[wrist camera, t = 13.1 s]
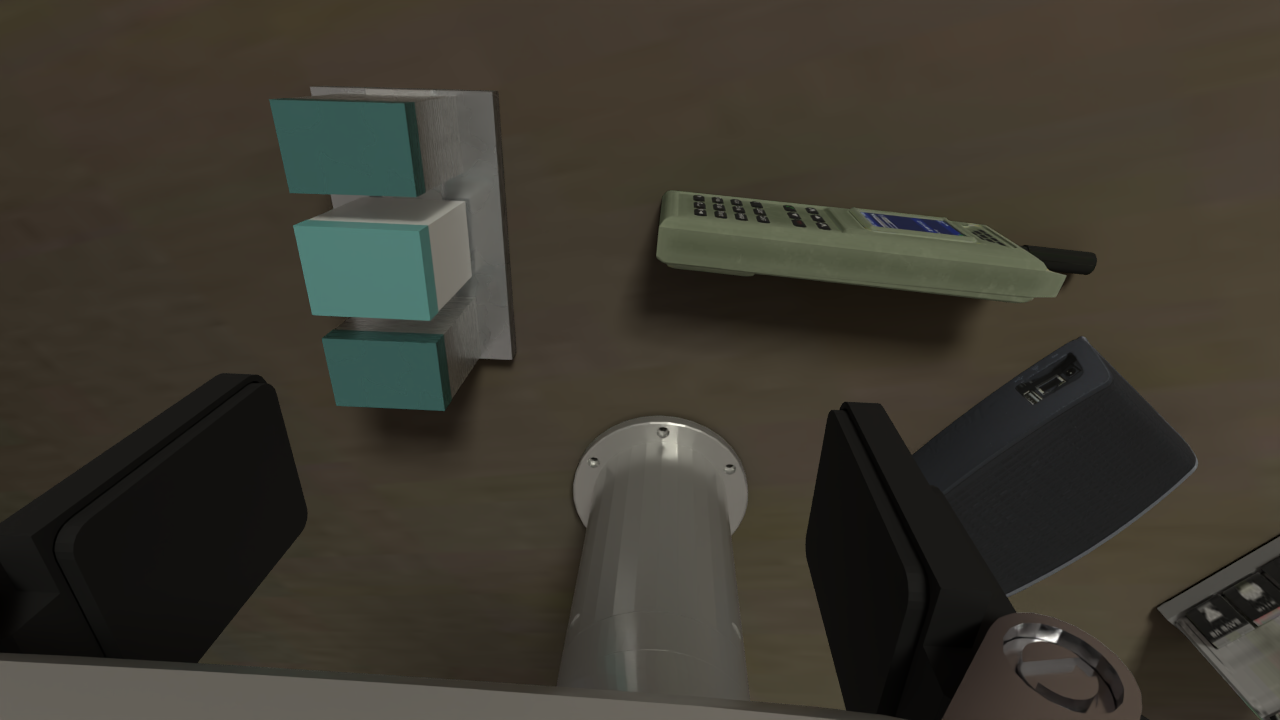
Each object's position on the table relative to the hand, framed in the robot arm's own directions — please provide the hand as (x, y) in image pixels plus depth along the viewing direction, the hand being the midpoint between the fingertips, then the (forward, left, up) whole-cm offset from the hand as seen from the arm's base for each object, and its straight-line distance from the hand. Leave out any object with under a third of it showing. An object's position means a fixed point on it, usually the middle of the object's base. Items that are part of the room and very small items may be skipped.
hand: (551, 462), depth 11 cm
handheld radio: (-3, -14, -29) cm, 32 cm away
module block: (-4, +13, -27) cm, 30 cm away
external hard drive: (-20, -26, -29) cm, 44 cm away
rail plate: (-4, +13, -28) cm, 31 cm away
